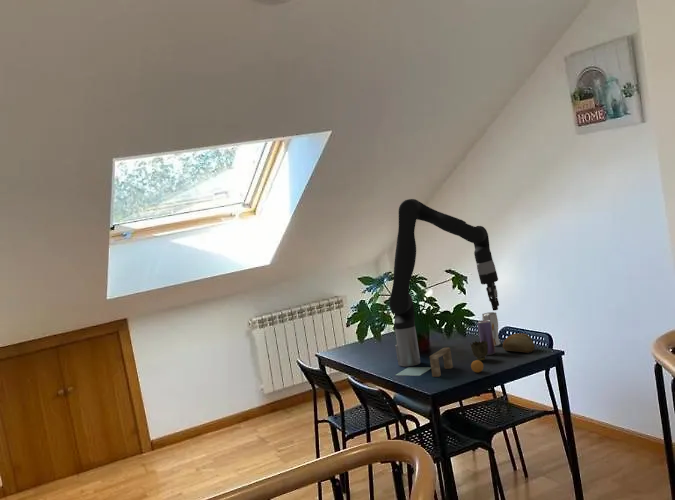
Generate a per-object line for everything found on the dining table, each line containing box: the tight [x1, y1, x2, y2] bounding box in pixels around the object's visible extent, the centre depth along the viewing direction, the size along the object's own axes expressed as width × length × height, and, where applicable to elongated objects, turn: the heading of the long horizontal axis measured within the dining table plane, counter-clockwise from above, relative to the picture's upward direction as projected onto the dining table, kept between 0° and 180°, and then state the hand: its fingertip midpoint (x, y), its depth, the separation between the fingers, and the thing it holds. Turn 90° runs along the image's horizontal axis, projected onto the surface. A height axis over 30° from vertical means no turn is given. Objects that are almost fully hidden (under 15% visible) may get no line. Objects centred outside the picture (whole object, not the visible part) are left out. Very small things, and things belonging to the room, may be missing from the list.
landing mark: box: [394, 366, 431, 377], centre depth 316 cm, size 12×12×1 cm
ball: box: [470, 359, 484, 373], centre depth 299 cm, size 5×5×5 cm
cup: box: [469, 340, 488, 362], centre depth 317 cm, size 8×7×8 cm
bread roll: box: [502, 332, 535, 354], centre depth 323 cm, size 10×15×8 cm, turn 46°
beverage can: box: [477, 319, 496, 356], centre depth 327 cm, size 6×6×15 cm
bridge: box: [428, 347, 454, 378], centre depth 308 cm, size 3×14×9 cm, turn 146°
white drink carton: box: [481, 311, 501, 347], centre depth 342 cm, size 7×7×15 cm
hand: (496, 308), depth 313 cm, fingers open, 8 cm apart
